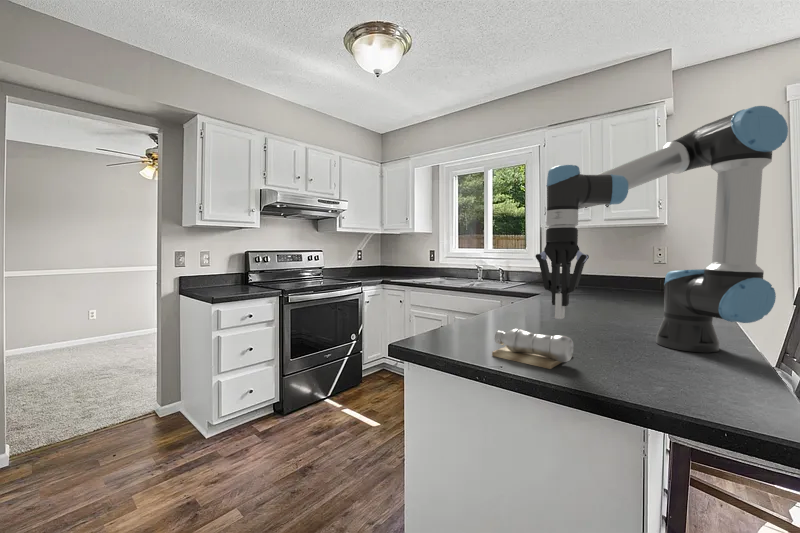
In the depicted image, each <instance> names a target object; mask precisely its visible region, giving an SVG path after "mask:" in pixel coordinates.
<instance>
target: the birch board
mask: <svg viewBox="0 0 800 533" xmlns="http://www.w3.org/2000/svg"><path fill="white" fill-rule="evenodd" d="M491 353H492V354H491V356H492V357H495V358H500V359H503V360H509V361H513V362H518V363H522V364H527V365H531V366H534V367H540V368H544V369H548V370H551V369H553V368H555V367H557V366H558V365H560V364H562V363H563V362H559V361H556V360H553V359H551V358H548V357H544V356H541V355H536V354H529V353H515V352H512V351H510V350H509V349H508V348H507V347H506V346H505V345H504V346H503V347H500V348H498V349H496V350H492V352H491Z"/></svg>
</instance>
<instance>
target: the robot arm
mask: <svg viewBox="0 0 800 533" xmlns="http://www.w3.org/2000/svg"><path fill="white" fill-rule="evenodd" d="M788 135H789V127H788V123H787V121H786V119H785V117H784V116H783V114H781V113H780V112H779V111H778V110H777V109H775V108H773V107H772V106H767V105H756V106H751V107H748V108H746V109H741V110H739V111H736V112H735V113H732V114H729V115H727V116H724V117H722V118H719V119H717V120H714V121H712V122H709V123H706V124H704V125H702V126H700V127H697V128H696V129H693V130H692V131H690V132H689V133H687V134H685V135H683V136H682V135H681V136H680V137H678V138H676V139H674V140H672V141H669V142H666V144H664V146H663V147H662V148H661V149H659V150H656V151H653V152H651V153H649V154H646V155H643V156H640V157H639V158H635V159H633V160H631V161H628V162H625V163H622V164H620V165H618V166H615V167H613V168H610V169H607V170H605V171H602V172H599V173H597V174H581V172H580V167H579V166H578V165H574V164H562V165H556V166H553V167H551V168H549V170H548V171H547V178H546V222H545V223H546V227H548V228H546V229H545V247H544V249H543V251H542V252H540V253H537V254H535V258H536V260H537V262H538V263H539V264H538V265H539V269H540V272H541V277H542V282H543V286H544V290H546V291H548V292H551V305H552V306H555V307H554V319H557V320H562V319H565V318H566V317H565V315H566V307H568V306H569V304H570V303H569V302H570V294H571V293H572V292H577V290H578V287H579V284H580V280H581V276H582V274H583V269H584V266H585V264H586V262H587V261H588V259H589V257H590V256H589V254H586V253H583V252H582V251H580V246H579V244H578V243H579V242H578V241H579V240H578V238H579V234H578V233H579V230H578V228H577V226H578V225H579V210H580V209H586V208H591V207H597V206H602V205H605V206H606V205H608V206H611V205H619V204H622V203H623V202H624V201H625V200H626V198H627V196H628V194H629V191H630V190H631V189H635V188H636V187H639V186H642V185H644V184H646V183H649V182H652V181H654V180H656V179H657V180H658V179H659V178H662V177H664V176H667V175H670V174H681V173H685V172H687V171H691V170H693V169H694V170H695V169H699V168H704V167H708V166H710V169H712V170H714V171H715V172H716V173H717V180H716V198H715V213H714V224H713V225H714V228H713V239H712V240H713V243H712V255H711V256H712V257H711V263H709V265H707V266H706V267H704V268H703V269H702V268H701V269H700V268H699V269H696V268H695V269H680V270H679V269H677V270H670V271H668V272H667V273H666V275H665V278H664V283H663V285H664V289H663V290H664V296H663V297H664V298H663V300H664V301H663V319H662V322H661V323H660V326H659V329H658V331H657V333H656V335H655V343H656V344H658V345H660V346H661V347H665V348H669V349H672V350H673V349H674V350H678V351H683V352H693V353H704V354H705V353H717V352H719V351H720V341H719V338H718V334H717V332H716V330H715V327H714V324H713V319H714V318H716V319H721V320H723V321H726V322H731V323H741V324H751V323H755V322H758V321H760V320H762V319H764V317H765V316H768V315H769V313H770V312H771V311H772V309H773V307H774V305H775V303H776V299H777V295H776V294H777V293H776V290H775V288H774V287H772V285H773V284H771V283H770V282H769V281H767V280H766V279H764V269H762V268H761V267H760V266H758V265H757V255H758V254H757V253H758V241H759V240H758V238H759V228H760V227H759V226H760V225H759V224H760V214H761V213H760V209H761V197H762V196H761V195H762V183H763V182H762V181H763V170H764V169H765V168H766V167H767V166H768V165H770V164H771V163H772V160H773V152H774V151H775V150H778V148H780V147H782V145H783V144H784V143H785V142H786V141H787V139H788ZM575 258H576V263H575V266H574V269H573V273H572V277H571V267H572V262H573V260H574V259H575ZM547 259H549V260H550V262H551V263H550V266H551V273H550V268H549V264H548V260H547ZM560 277H561V278H560ZM560 281H561V282H560ZM560 284H561V286H560ZM560 287H561V289H560Z"/></svg>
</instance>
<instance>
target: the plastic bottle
mask: <svg viewBox="0 0 800 533" xmlns="http://www.w3.org/2000/svg"><path fill="white" fill-rule="evenodd" d="M494 342H495V344H499V345H501V346H504V347H505V346H506V347H507V348H508V349H509V350H510V351H512V352H515V353H529V354H536V355H541V356H544V357H548V358H551V359H553V360H556V361H559V362H562V363H567V362H569V361H571V359H572V358H573V353H574V341H573V340H572V338H571V337H570V336H569V337H568V336H566V335H563V334H562V335H559V334H557V335H552V334H551V335H550V334H539V333H534V332H530V331H527V330H524V329H520V328H513V329H510V330H507V332H506V331H505V330H497V331H496V332H495V334H494Z"/></svg>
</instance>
